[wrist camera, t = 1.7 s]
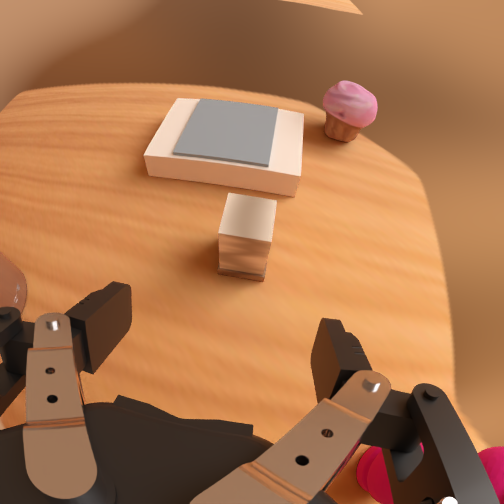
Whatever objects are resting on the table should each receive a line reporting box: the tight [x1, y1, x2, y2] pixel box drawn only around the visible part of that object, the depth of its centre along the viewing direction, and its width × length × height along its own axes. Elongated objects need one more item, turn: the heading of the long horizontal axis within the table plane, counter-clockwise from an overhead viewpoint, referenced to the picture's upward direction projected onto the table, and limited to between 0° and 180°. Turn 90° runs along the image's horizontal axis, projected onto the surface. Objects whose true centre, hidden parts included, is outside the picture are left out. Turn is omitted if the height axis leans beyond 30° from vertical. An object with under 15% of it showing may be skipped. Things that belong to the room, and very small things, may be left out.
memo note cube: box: [217, 193, 277, 282], centre depth 30 cm, size 5×5×8 cm
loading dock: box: [144, 98, 304, 197], centre depth 40 cm, size 20×14×4 cm
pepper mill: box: [356, 442, 504, 504], centre depth 14 cm, size 7×7×20 cm
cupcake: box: [323, 81, 377, 142], centre depth 42 cm, size 9×9×10 cm
